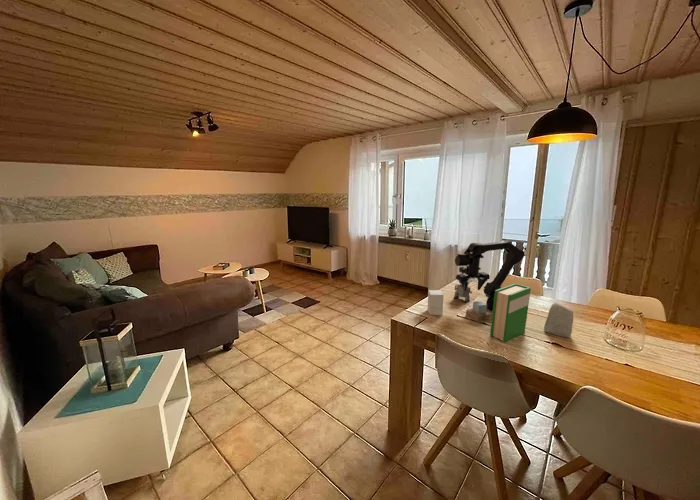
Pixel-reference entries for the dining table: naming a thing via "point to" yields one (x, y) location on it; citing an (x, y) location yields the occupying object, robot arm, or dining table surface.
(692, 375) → the dining table surface
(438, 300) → the supplement box
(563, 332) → the decorative stone
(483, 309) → the slate cube
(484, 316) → the walnut block
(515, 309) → the hardback book
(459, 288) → the figurine
